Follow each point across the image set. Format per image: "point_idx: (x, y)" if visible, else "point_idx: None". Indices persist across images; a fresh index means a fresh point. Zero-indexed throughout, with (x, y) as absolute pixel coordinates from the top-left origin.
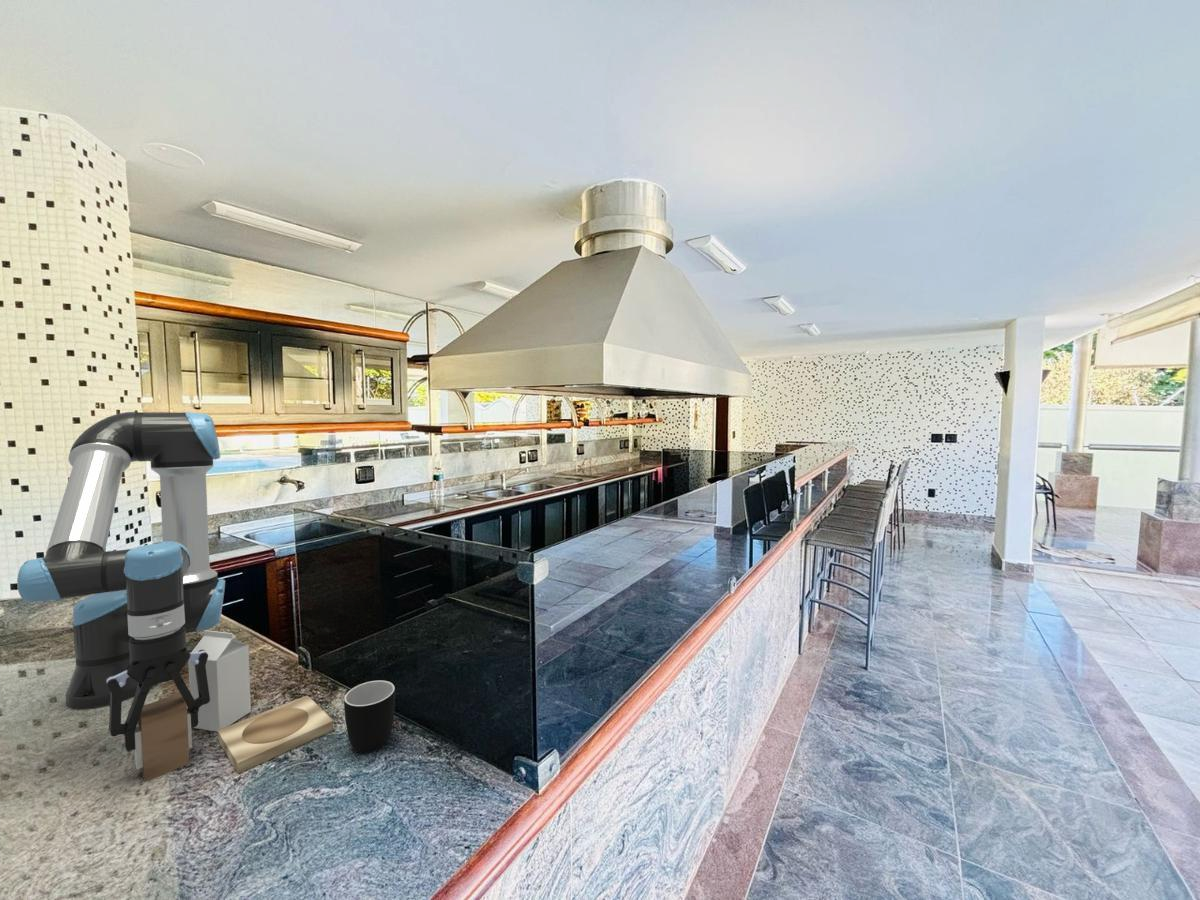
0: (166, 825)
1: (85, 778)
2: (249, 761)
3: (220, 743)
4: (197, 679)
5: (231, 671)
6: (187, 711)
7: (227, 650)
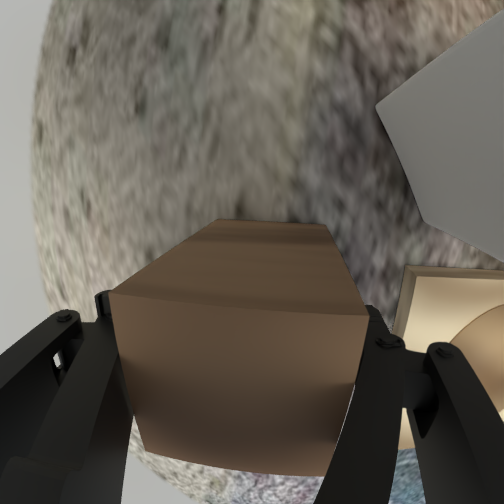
0: None
1: (116, 167)
2: None
3: (400, 299)
4: (451, 488)
5: None
6: None
7: None
